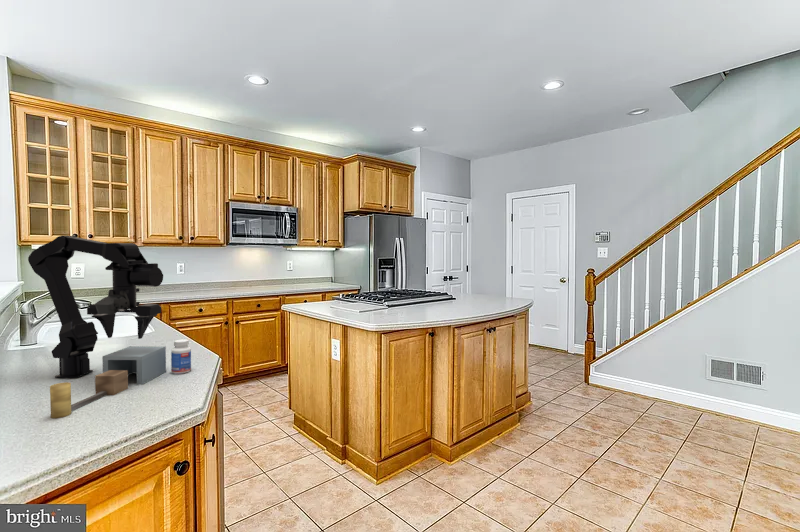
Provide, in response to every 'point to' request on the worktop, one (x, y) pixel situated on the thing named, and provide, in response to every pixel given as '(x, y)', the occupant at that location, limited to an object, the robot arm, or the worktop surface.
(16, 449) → the worktop surface
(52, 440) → the worktop surface
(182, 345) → the pill bottle
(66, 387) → the block
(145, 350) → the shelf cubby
